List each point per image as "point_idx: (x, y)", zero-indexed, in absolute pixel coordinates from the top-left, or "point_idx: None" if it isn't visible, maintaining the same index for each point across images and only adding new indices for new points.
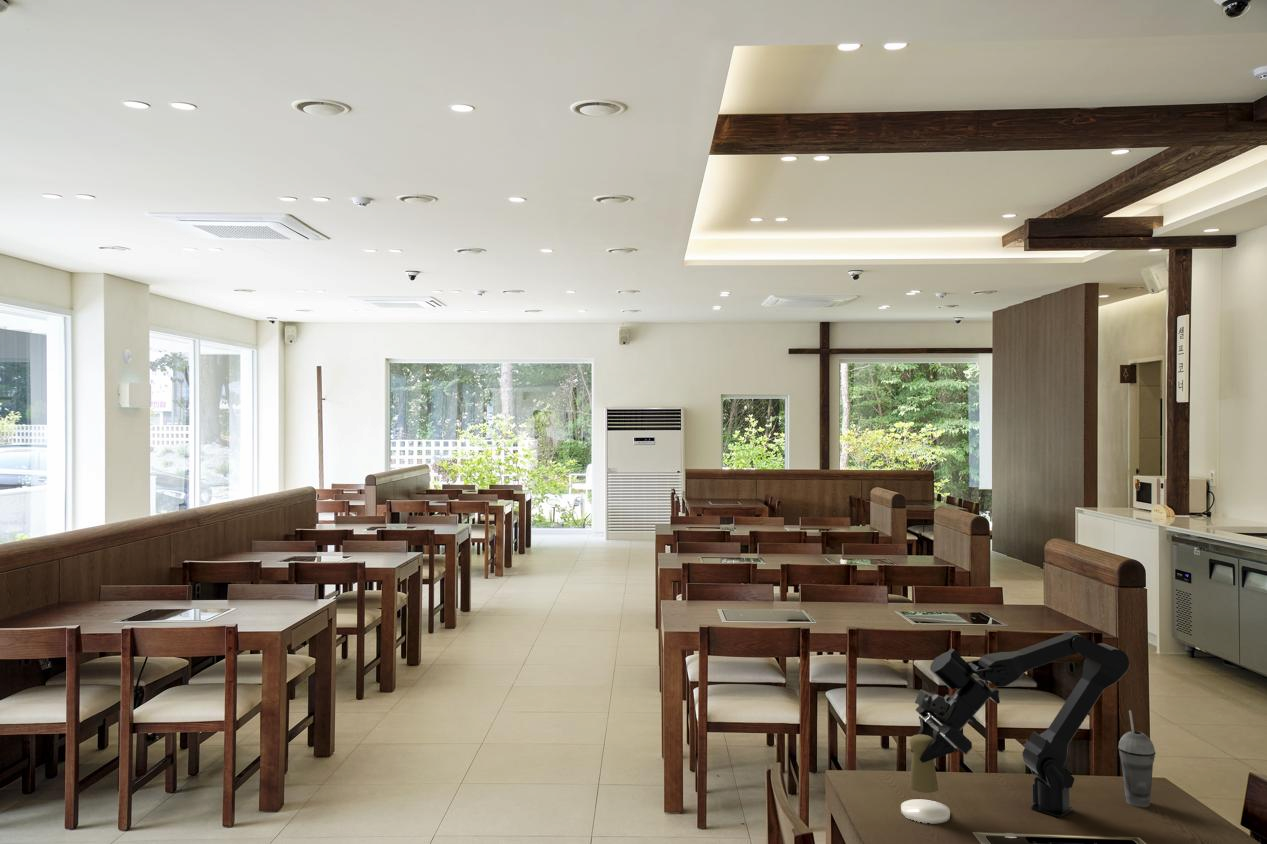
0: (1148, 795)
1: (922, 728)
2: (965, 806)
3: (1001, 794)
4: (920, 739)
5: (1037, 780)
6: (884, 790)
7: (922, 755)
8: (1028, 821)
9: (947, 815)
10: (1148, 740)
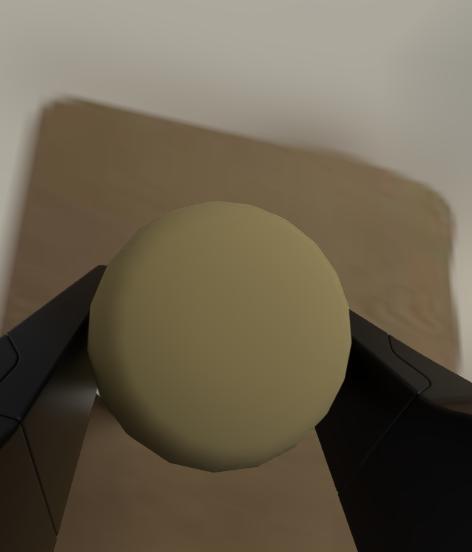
0: None
1: (456, 404)
2: (214, 494)
3: None
4: (151, 265)
5: None
6: (339, 272)
7: (81, 278)
8: None
9: (97, 392)
10: None
